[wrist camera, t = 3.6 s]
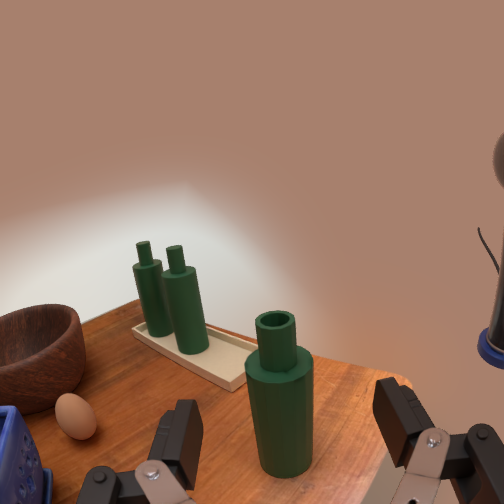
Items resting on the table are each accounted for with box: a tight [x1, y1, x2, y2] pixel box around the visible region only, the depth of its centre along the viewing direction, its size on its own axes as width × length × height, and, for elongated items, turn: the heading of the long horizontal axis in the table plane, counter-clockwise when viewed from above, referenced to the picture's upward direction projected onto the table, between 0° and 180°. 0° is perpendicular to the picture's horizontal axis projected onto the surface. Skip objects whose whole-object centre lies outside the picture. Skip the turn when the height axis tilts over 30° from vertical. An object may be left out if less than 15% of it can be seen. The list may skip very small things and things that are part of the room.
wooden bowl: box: [0, 304, 85, 415], centre depth 41 cm, size 25×25×10 cm
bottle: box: [244, 311, 314, 478], centre depth 26 cm, size 6×6×18 cm
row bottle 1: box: [133, 241, 174, 338], centre depth 57 cm, size 6×6×18 cm
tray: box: [132, 322, 258, 392], centre depth 53 cm, size 28×10×2 cm, turn 50°
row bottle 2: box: [161, 245, 209, 355], centre depth 51 cm, size 6×6×18 cm
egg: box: [55, 393, 97, 440], centre depth 31 cm, size 5×5×7 cm
